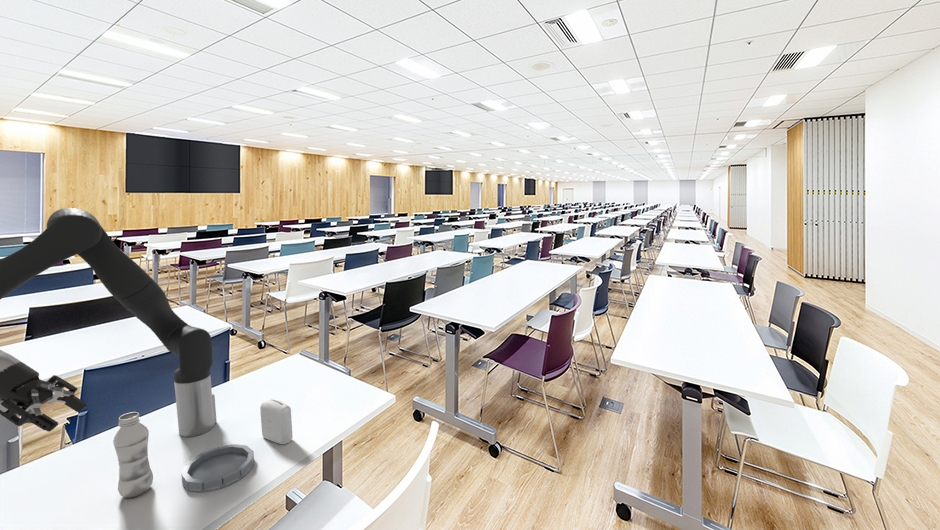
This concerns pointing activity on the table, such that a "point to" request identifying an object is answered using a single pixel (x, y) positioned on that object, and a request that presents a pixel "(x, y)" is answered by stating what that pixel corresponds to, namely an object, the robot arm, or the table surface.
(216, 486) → the round tray
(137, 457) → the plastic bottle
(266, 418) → the photo printer
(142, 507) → the table surface
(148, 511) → the table surface
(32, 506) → the table surface
